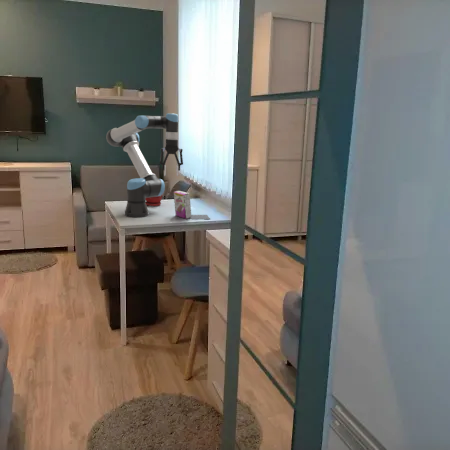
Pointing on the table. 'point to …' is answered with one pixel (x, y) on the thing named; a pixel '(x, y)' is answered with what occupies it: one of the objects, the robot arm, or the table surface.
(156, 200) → the plant pot
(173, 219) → the table surface
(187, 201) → the candy bar box
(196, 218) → the rubber mat
